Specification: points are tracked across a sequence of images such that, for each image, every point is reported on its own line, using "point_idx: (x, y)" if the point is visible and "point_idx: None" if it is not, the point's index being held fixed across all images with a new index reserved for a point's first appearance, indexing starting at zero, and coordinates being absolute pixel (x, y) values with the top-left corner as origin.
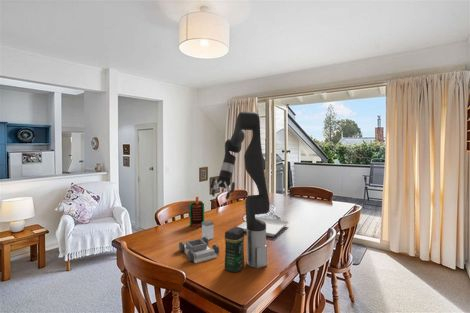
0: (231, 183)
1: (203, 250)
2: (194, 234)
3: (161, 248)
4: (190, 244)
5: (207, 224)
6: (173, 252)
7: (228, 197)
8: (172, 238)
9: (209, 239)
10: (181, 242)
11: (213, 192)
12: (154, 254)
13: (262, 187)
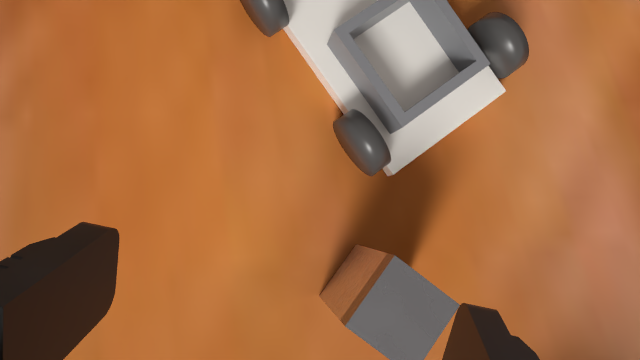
0: None
1: (344, 22)
2: None
3: (611, 96)
4: (444, 13)
5: (391, 257)
6: None
7: (30, 244)
8: (605, 263)
9: (345, 260)
10: (512, 30)
11: (505, 355)
12: (617, 14)
13: None
